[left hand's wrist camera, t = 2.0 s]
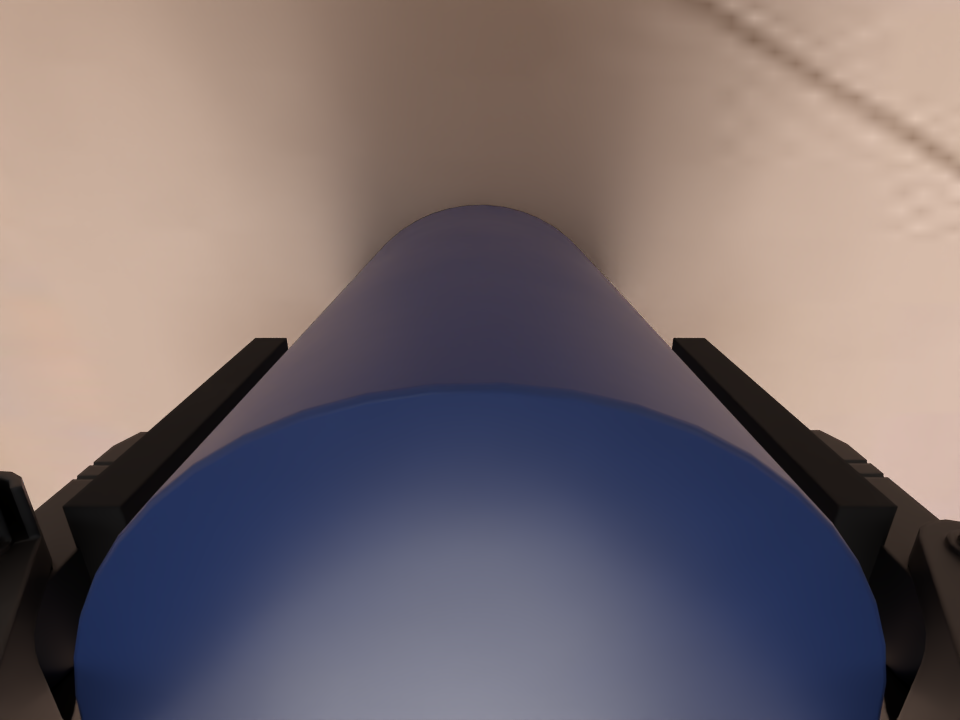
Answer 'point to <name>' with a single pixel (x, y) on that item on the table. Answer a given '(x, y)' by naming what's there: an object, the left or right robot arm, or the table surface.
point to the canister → (480, 523)
